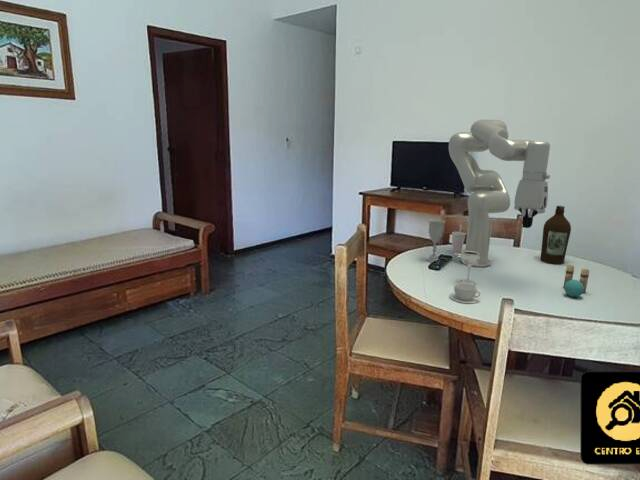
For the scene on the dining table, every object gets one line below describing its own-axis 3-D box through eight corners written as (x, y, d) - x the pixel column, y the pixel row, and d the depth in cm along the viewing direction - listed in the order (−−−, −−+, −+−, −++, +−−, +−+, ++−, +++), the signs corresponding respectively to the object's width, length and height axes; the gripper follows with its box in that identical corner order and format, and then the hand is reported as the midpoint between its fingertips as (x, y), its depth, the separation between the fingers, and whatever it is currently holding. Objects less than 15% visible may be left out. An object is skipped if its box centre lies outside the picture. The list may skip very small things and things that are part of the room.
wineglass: (457, 284, 160) (461, 253, 157) (458, 278, 167) (461, 248, 164) (476, 286, 158) (480, 255, 155) (477, 280, 164) (480, 250, 161)
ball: (577, 291, 153) (566, 300, 151) (567, 277, 153) (557, 286, 152) (591, 289, 147) (580, 299, 146) (581, 275, 148) (570, 284, 146)
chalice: (443, 260, 190) (446, 220, 185) (440, 264, 184) (444, 223, 179) (426, 257, 193) (429, 219, 188) (423, 261, 187) (426, 221, 182)
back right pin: (579, 293, 153) (583, 270, 151) (576, 290, 155) (580, 268, 153) (586, 293, 153) (591, 271, 151) (583, 291, 155) (587, 268, 153)
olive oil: (537, 256, 197) (545, 203, 191) (563, 259, 194) (572, 205, 187) (539, 263, 188) (548, 207, 181) (567, 266, 184) (576, 209, 178)
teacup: (445, 300, 146) (446, 287, 144) (454, 291, 154) (455, 279, 152) (475, 307, 140) (476, 293, 139) (482, 297, 148) (484, 285, 147)
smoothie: (464, 255, 198) (467, 225, 194) (450, 254, 199) (453, 225, 195) (463, 251, 204) (466, 223, 200) (449, 250, 205) (451, 222, 202)
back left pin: (564, 289, 157) (568, 267, 155) (561, 286, 159) (565, 265, 157) (572, 289, 157) (575, 267, 154) (569, 287, 159) (572, 265, 157)
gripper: (560, 178, 148) (552, 229, 153) (518, 174, 159) (512, 222, 164) (550, 179, 143) (542, 232, 148) (508, 175, 155) (501, 224, 159)
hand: (526, 227), depth 156 cm, fingers closed
